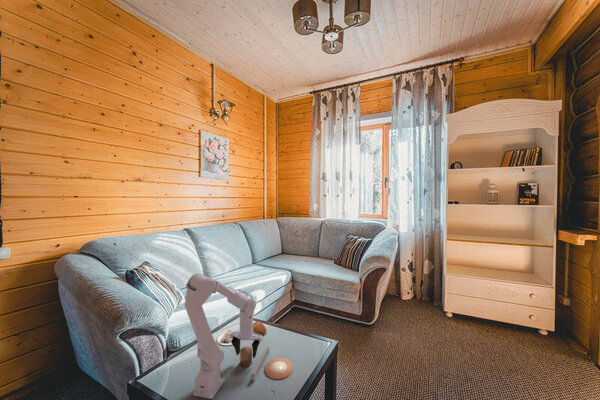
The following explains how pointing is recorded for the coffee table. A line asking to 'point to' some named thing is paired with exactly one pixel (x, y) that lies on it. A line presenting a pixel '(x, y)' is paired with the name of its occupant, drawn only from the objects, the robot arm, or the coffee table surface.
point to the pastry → (259, 328)
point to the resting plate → (278, 368)
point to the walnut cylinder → (246, 356)
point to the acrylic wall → (260, 363)
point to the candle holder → (227, 337)
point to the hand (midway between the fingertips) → (246, 355)
